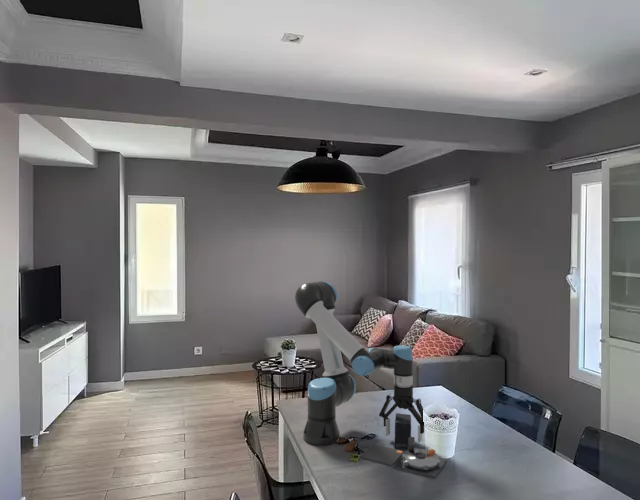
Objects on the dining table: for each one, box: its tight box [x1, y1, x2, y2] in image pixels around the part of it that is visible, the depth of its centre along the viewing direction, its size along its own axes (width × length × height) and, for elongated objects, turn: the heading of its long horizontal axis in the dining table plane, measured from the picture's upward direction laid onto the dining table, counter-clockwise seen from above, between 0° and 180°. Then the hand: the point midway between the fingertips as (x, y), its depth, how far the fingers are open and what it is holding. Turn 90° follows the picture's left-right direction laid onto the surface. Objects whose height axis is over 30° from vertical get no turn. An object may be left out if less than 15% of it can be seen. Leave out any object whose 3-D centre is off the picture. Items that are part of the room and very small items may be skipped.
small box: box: [393, 412, 412, 450], centre depth 186 cm, size 11×6×10 cm, turn 168°
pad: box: [359, 443, 406, 467], centre depth 175 cm, size 13×13×1 cm
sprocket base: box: [393, 456, 448, 480], centre depth 168 cm, size 15×15×1 cm
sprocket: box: [400, 436, 441, 470], centre depth 168 cm, size 14×13×7 cm
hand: (403, 437), depth 186 cm, fingers open, 13 cm apart
